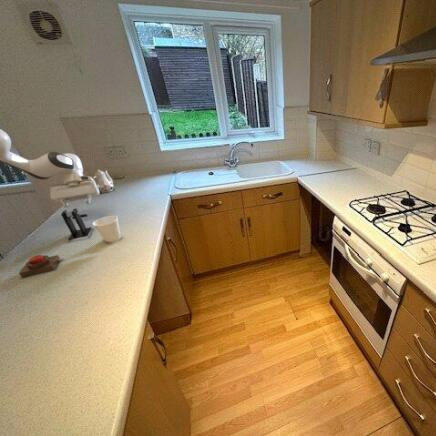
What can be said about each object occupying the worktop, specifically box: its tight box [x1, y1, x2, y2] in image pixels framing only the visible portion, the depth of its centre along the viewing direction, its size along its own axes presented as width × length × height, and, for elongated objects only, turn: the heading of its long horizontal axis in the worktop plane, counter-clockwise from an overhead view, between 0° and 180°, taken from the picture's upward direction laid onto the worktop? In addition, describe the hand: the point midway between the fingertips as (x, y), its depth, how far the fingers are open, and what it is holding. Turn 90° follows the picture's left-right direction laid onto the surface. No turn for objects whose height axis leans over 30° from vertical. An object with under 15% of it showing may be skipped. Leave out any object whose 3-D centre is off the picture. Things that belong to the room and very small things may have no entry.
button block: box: [18, 254, 60, 279], centre depth 99 cm, size 10×8×4 cm
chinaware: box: [92, 169, 116, 194], centre depth 176 cm, size 28×17×17 cm, turn 178°
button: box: [28, 254, 44, 264], centre depth 98 cm, size 4×4×2 cm
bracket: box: [60, 208, 93, 241], centre depth 119 cm, size 10×8×14 cm
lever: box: [66, 210, 88, 220], centre depth 121 cm, size 12×6×2 cm
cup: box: [91, 215, 122, 243], centre depth 115 cm, size 10×10×11 cm
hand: (77, 205), depth 126 cm, fingers open, 8 cm apart
